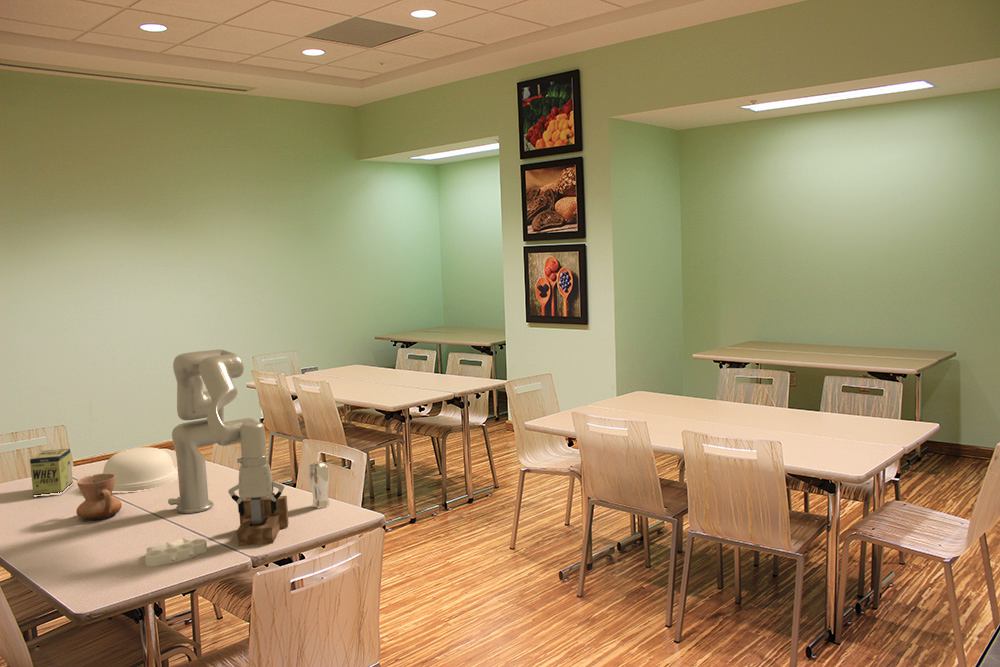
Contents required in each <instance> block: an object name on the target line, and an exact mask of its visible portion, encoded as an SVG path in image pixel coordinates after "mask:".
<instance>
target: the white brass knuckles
mask: <svg viewBox="0 0 1000 667" xmlns="http://www.w3.org/2000/svg"><path fill="white" fill-rule="evenodd" d="M207 551H208V542H207V540H206V539H205V538H194V539H193V538H192V539H189V538H188V537H183V538H181V539H178V540H173V541H168V542H165V543H162V544H159V545H153V546H148V547H147V548H146V553H145V555H144V559H145V560H144V561H145V565H146V566H147V567H158V566H162V565H165V564H167V565H168V564H173V563H178V562H180V561H184V560H189V559H192V558H194V557H195V556H197V555H199V554H204V553H206V552H207Z"/></svg>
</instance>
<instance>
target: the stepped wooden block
mask: <svg viewBox="0 0 1000 667" xmlns="http://www.w3.org/2000/svg"><path fill="white" fill-rule="evenodd" d="M287 496H288V495H280V496H279V498H278V499H277V500H276V501H277V510H275V513H274V514H272V513H271V501H272V500H271V499H270V498H269V497H264V508H265V524H264V525H260V526H252V518H251V504H250V500H251V499H252V498H244V499H243V502H244V509H245V513H244V515H243V516H240V513H239V512H238V514H239V526H238V528H237V530H236V533H237V536H236V538H237V547H241V546H243V547H244V546H255V545H268V544H274V542H275V540H276V538H277V536H278V534H279V532H280V530H281V529H285V528H284V527H287V528H288V527H289V525H290V524H289V510H288V509H289V508H288V507H289V506H288V497H287ZM288 524H289V525H288Z"/></svg>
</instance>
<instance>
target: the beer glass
mask: <svg viewBox="0 0 1000 667" xmlns="http://www.w3.org/2000/svg"><path fill="white" fill-rule="evenodd" d="M308 466H309V467H308V474H309V475H308V477H309V478H308V479H309V485H310V489H311V493H312V504H311V505H312V506H313V507H325V506H327V505H329V504H330V500H329V489H330V488H329V487H330V470H329V464H328V462H315V463H311V464H309V465H308ZM330 505H331V504H330ZM330 505H329V506H330ZM313 507H312V508H313ZM325 508H326V507H325Z"/></svg>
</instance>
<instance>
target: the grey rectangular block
mask: <svg viewBox="0 0 1000 667" xmlns="http://www.w3.org/2000/svg"><path fill="white" fill-rule="evenodd" d="M250 504H251V518H252V526H260V525H264V524H265V508H264V497H261V498H252V499H251V500H250Z"/></svg>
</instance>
